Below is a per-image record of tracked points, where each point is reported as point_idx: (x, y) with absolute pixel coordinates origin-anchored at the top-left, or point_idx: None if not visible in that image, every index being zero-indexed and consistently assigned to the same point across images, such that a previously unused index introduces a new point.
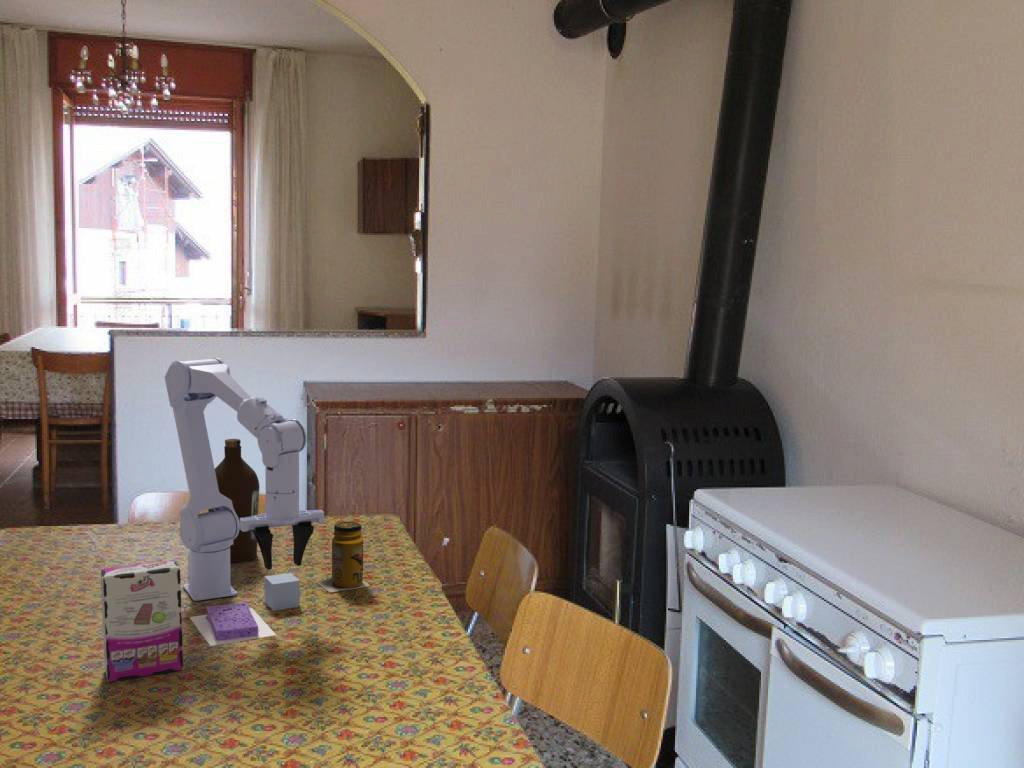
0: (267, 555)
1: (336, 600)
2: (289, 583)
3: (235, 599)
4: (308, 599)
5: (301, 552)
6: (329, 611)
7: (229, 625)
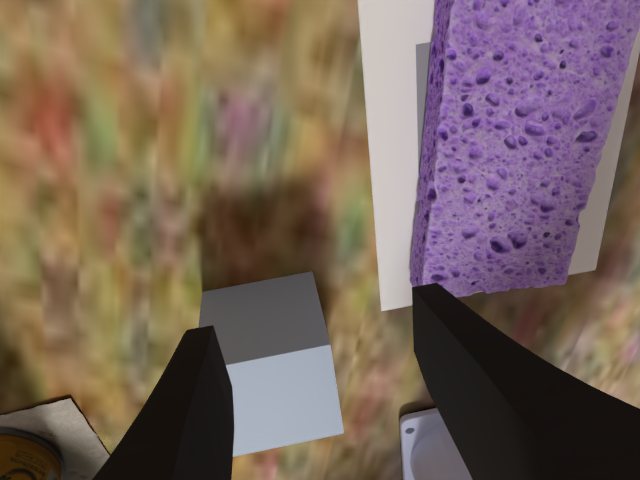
0: (504, 343)
1: (42, 326)
2: (245, 356)
3: (411, 389)
4: (161, 353)
5: (167, 400)
6: (71, 212)
7: (569, 45)
